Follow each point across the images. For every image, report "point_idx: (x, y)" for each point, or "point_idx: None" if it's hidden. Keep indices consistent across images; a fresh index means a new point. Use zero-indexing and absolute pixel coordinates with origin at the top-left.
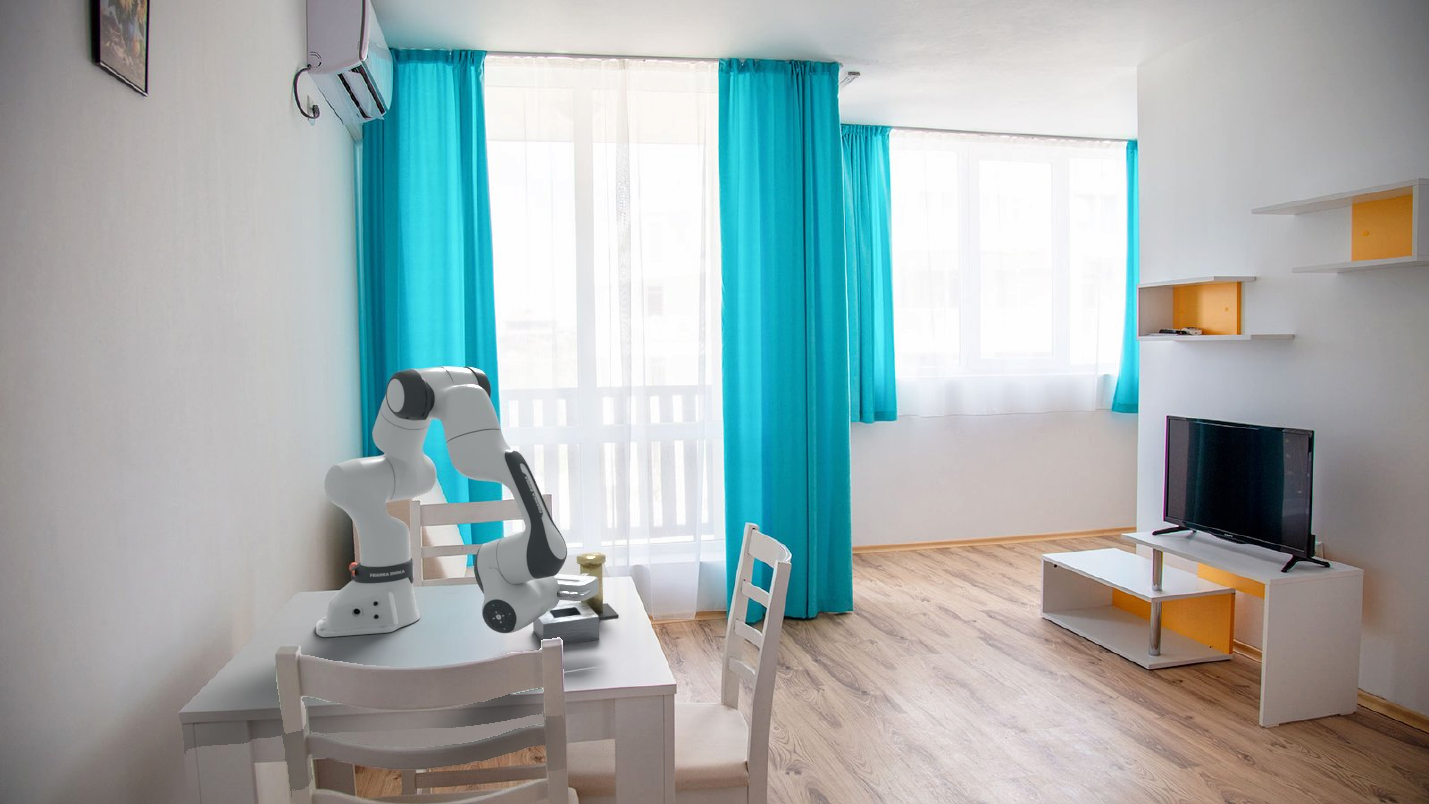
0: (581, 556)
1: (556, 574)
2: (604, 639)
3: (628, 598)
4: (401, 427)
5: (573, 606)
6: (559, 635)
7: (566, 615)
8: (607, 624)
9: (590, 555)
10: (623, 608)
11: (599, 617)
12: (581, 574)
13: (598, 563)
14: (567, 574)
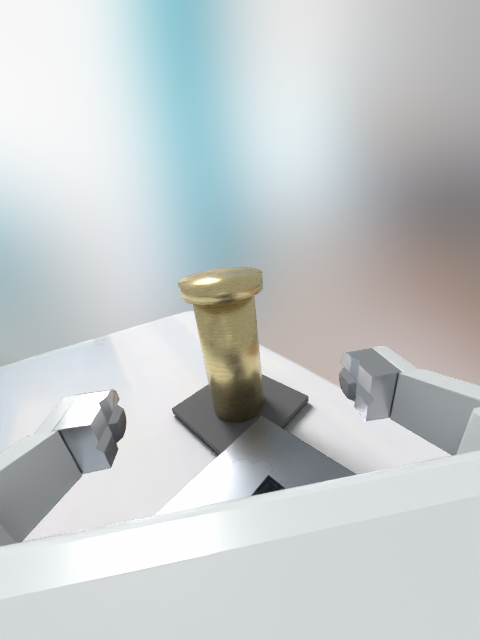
0: (191, 281)
1: (301, 586)
2: None
3: None
4: None
5: (256, 472)
6: None
7: None
8: (320, 443)
9: (212, 274)
10: (273, 365)
11: (281, 424)
12: (369, 369)
13: (259, 289)
14: (432, 482)
